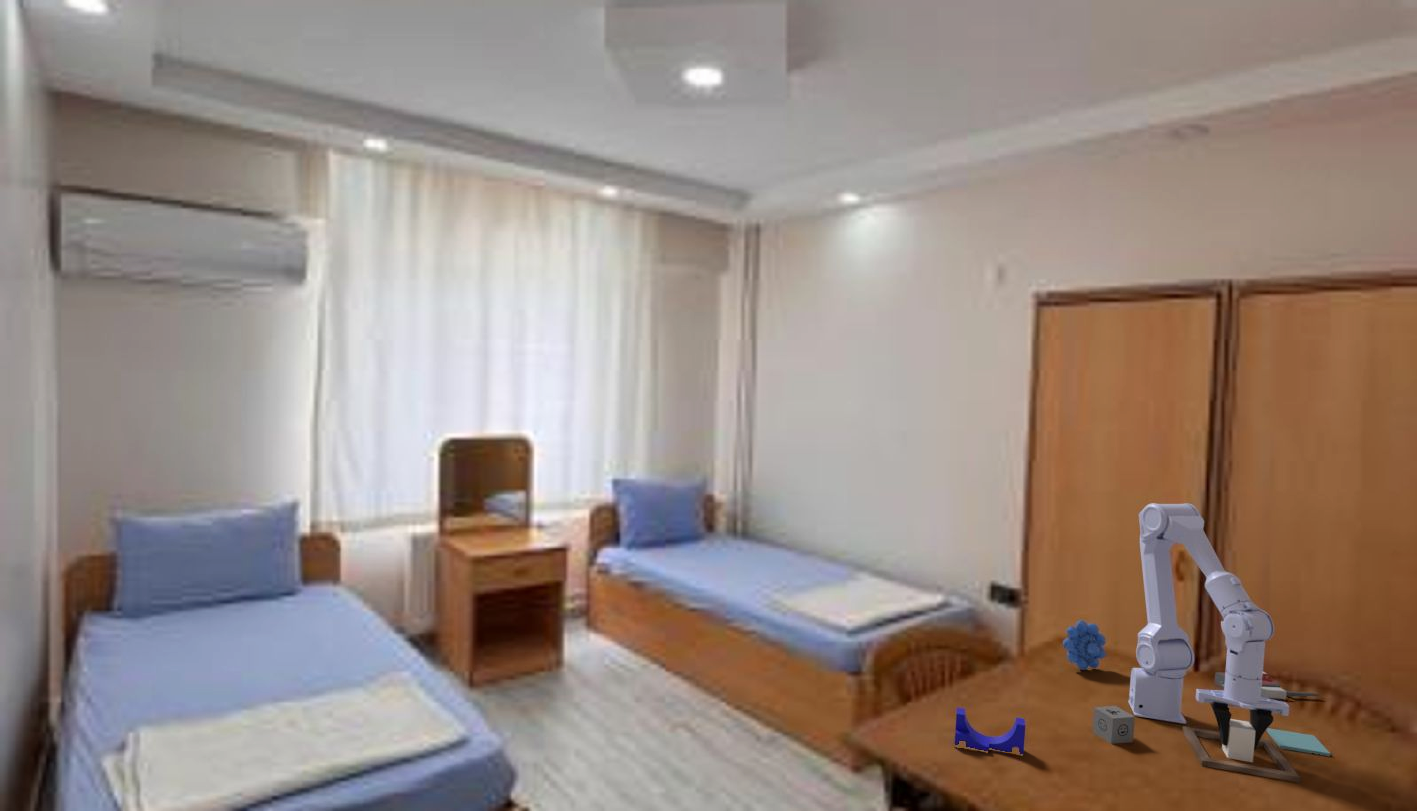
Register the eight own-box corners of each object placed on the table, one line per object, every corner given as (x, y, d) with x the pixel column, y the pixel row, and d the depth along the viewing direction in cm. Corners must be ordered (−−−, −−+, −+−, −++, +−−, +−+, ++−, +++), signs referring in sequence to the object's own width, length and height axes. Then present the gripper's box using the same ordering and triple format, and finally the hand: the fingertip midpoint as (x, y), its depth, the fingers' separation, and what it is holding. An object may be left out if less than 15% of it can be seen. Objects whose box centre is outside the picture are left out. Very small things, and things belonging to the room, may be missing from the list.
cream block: (1227, 757, 150) (1230, 726, 149) (1221, 748, 154) (1224, 717, 153) (1252, 762, 148) (1255, 730, 148) (1246, 752, 152) (1248, 721, 152)
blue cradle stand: (954, 748, 149) (956, 716, 149) (954, 738, 153) (956, 707, 153) (1023, 761, 145) (1025, 729, 145) (1022, 750, 150) (1024, 718, 149)
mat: (1280, 748, 155) (1280, 745, 155) (1266, 730, 162) (1266, 727, 162) (1330, 756, 152) (1330, 753, 152) (1313, 738, 160) (1313, 735, 160)
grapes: (1074, 678, 186) (1078, 627, 186) (1055, 667, 193) (1058, 617, 192) (1116, 675, 189) (1120, 625, 189) (1096, 664, 196) (1099, 616, 195)
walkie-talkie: (1231, 698, 179) (1321, 703, 179) (1232, 679, 179) (1323, 683, 179) (1207, 682, 188) (1293, 687, 188) (1208, 664, 188) (1295, 668, 188)
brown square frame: (1201, 765, 146) (1202, 760, 146) (1182, 730, 160) (1182, 726, 160) (1299, 782, 142) (1299, 777, 141) (1270, 745, 156) (1270, 740, 156)
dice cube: (1092, 732, 158) (1094, 707, 158) (1113, 730, 160) (1115, 705, 159) (1111, 744, 154) (1112, 718, 153) (1133, 742, 155) (1134, 716, 155)
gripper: (1204, 675, 149) (1199, 746, 149) (1297, 688, 144) (1291, 762, 145) (1195, 662, 155) (1189, 731, 156) (1283, 674, 151) (1277, 745, 151)
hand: (1237, 745), depth 151 cm, fingers closed on cream block, 4 cm apart
